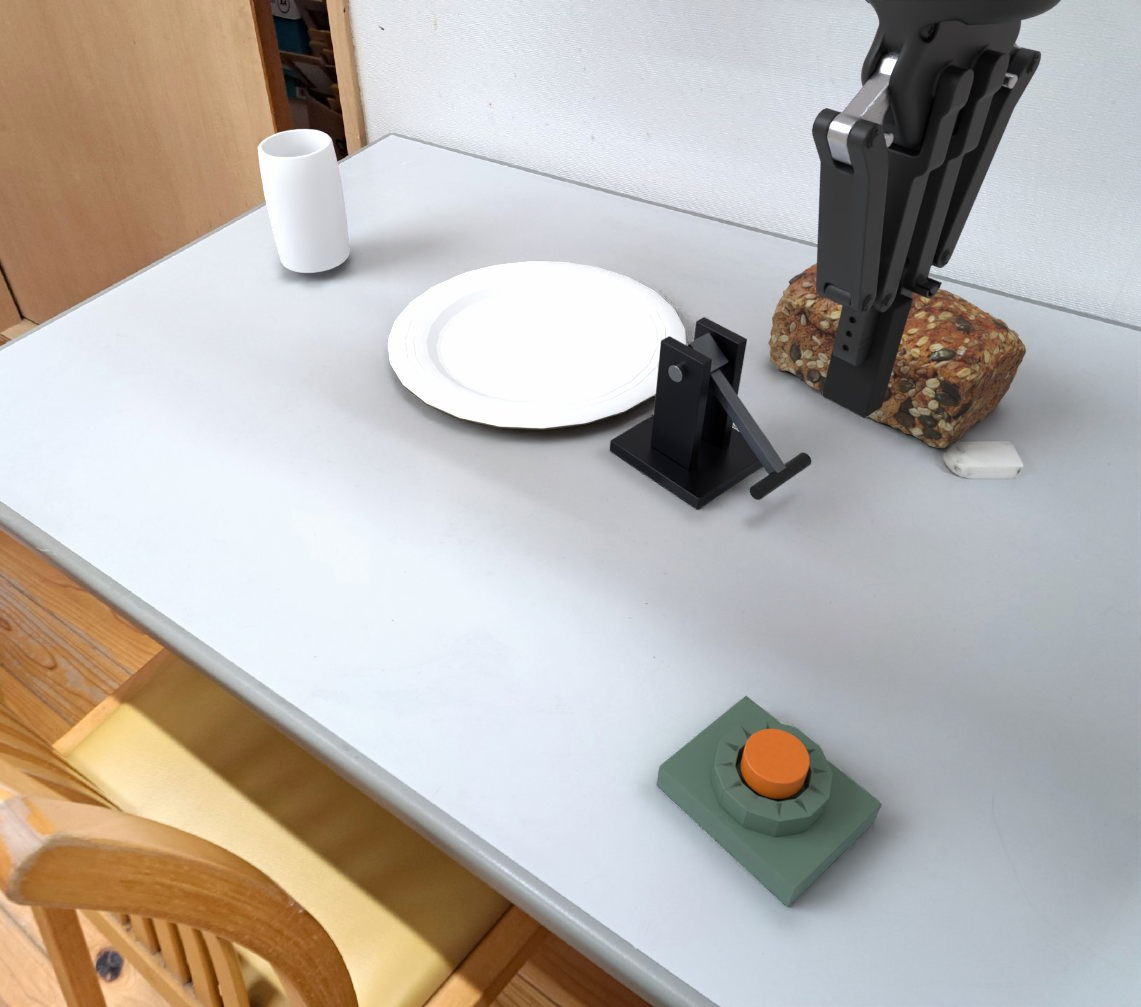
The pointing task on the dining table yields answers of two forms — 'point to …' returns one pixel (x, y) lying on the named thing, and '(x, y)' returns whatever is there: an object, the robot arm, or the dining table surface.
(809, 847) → the control block
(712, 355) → the lever
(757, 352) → the dining table surface
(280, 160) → the cup
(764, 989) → the dining table surface
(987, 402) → the bread
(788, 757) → the button
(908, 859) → the dining table surface
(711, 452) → the bracket
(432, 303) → the plate
